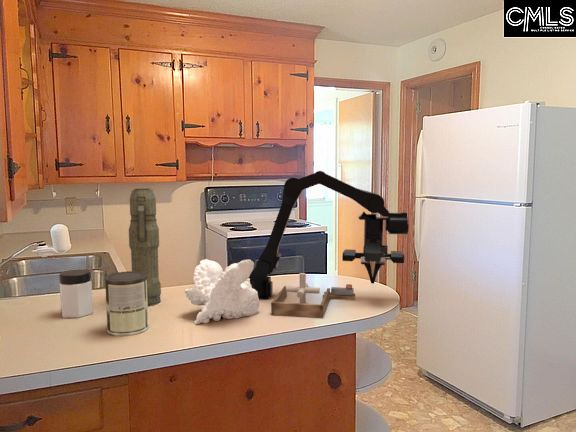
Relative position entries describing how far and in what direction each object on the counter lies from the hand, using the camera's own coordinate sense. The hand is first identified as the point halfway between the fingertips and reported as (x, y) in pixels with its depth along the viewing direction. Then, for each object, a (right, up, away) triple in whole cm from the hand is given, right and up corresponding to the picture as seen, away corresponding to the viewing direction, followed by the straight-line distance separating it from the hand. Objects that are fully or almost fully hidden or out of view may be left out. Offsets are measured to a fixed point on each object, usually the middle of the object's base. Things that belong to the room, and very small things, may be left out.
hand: (372, 283), depth 148 cm
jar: (-87, -7, -14) cm, 88 cm away
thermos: (-70, -6, -3) cm, 71 cm away
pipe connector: (-22, -6, -7) cm, 24 cm away
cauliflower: (-45, -7, -16) cm, 48 cm away
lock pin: (-9, -5, +2) cm, 11 cm away
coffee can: (-68, -8, -26) cm, 73 cm away
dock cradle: (-18, -6, -6) cm, 20 cm away
